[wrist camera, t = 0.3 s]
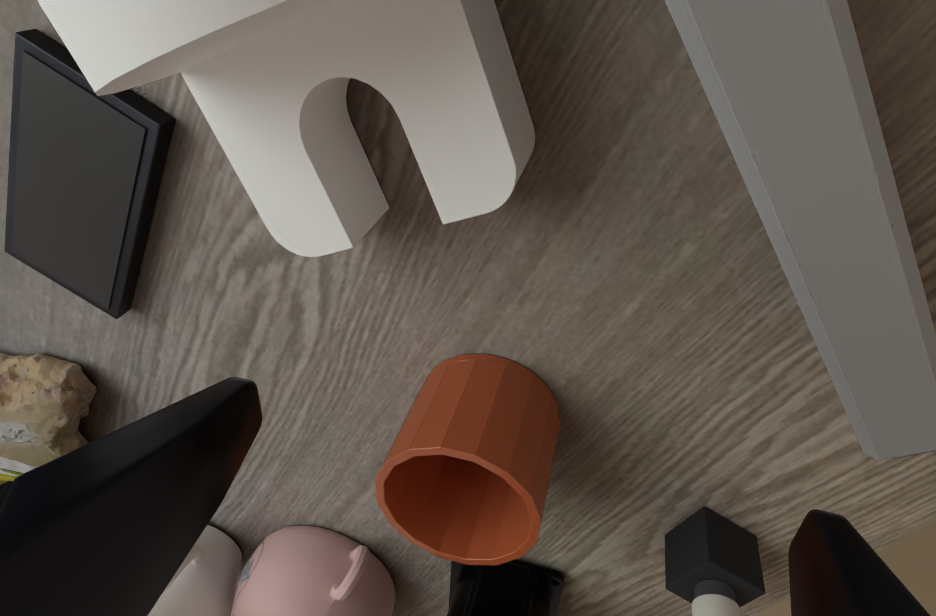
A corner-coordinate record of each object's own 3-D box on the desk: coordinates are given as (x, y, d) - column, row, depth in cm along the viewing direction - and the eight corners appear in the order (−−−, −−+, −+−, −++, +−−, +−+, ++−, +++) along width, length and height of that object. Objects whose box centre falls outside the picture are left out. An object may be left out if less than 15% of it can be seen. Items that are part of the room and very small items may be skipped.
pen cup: (550, 474, 30) (529, 582, 25) (421, 444, 31) (378, 541, 26) (570, 370, 26) (550, 473, 21) (422, 340, 27) (372, 431, 23)
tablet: (36, 27, 24) (11, 32, 23) (176, 118, 25) (158, 126, 24) (20, 242, 31) (1, 252, 30) (130, 309, 32) (115, 321, 31)
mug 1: (253, 598, 45) (141, 786, 35) (147, 544, 45) (5, 719, 35) (286, 520, 38) (159, 726, 28) (161, 456, 38) (-10, 642, 28)
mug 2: (190, 642, 38) (242, 559, 42) (322, 719, 39) (358, 630, 44) (255, 571, 31) (308, 482, 36) (413, 667, 32) (444, 570, 37)
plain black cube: (714, 563, 30) (719, 619, 28) (664, 534, 30) (665, 588, 28) (756, 536, 29) (766, 593, 26) (704, 505, 28) (708, 560, 26)
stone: (157, 464, 39) (76, 336, 34) (119, 507, 36) (25, 374, 31) (15, 462, 43) (-75, 347, 38) (-30, 500, 40) (-134, 381, 35)
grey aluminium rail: (556, -654, 12) (522, -1259, 4) (857, 246, 25) (971, 458, 17) (452, -524, 13) (294, -840, 6) (791, 269, 26) (873, 476, 19)
